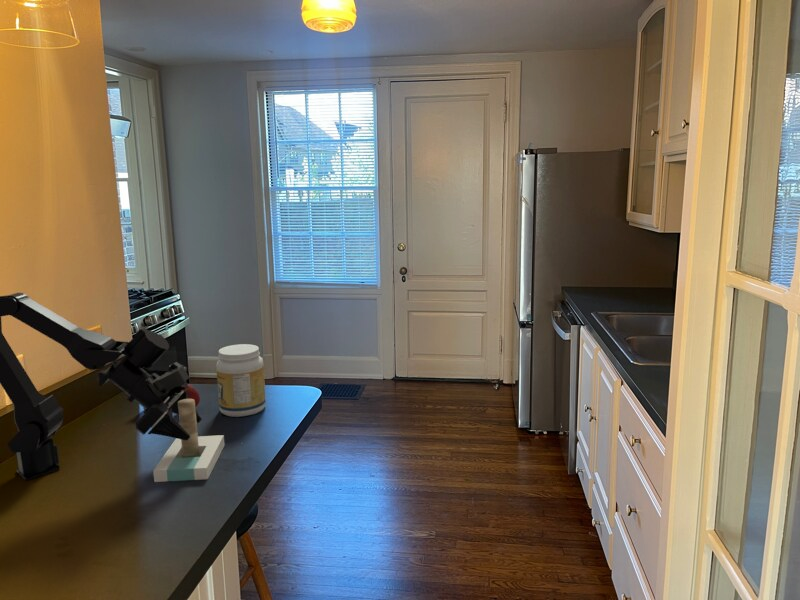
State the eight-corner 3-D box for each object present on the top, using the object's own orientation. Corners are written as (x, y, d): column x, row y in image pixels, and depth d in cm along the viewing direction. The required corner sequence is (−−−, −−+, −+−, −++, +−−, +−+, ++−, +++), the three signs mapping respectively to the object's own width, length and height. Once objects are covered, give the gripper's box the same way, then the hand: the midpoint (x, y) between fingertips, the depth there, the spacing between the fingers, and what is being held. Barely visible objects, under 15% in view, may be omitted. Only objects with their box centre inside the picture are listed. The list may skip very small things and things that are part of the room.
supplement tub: (216, 406, 159) (211, 346, 155) (261, 398, 164) (257, 340, 160) (223, 421, 148) (218, 358, 144) (270, 413, 153) (266, 351, 149)
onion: (204, 407, 157) (202, 379, 156) (195, 415, 152) (192, 386, 150) (184, 407, 158) (181, 379, 156) (174, 415, 152) (171, 386, 151)
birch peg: (184, 467, 123) (178, 405, 121) (182, 461, 126) (176, 400, 124) (201, 463, 125) (195, 402, 122) (198, 457, 128) (193, 397, 125)
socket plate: (207, 479, 118) (206, 467, 118) (154, 482, 117) (153, 470, 117) (224, 445, 134) (223, 435, 133) (177, 447, 133) (176, 437, 132)
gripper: (146, 369, 111) (209, 420, 114) (175, 344, 130) (228, 388, 133) (108, 409, 112) (172, 459, 115) (142, 378, 131) (196, 422, 134)
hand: (194, 429), depth 124 cm, fingers open, 9 cm apart
